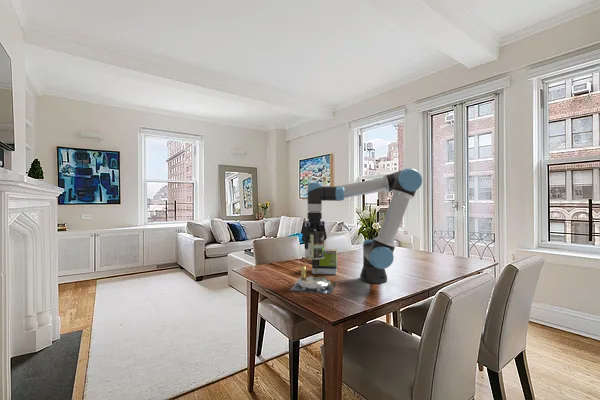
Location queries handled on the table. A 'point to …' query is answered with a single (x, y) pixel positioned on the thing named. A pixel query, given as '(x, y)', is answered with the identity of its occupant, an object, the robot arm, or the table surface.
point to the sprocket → (313, 282)
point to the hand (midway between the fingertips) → (314, 253)
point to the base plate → (324, 291)
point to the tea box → (326, 262)
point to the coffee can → (316, 245)
